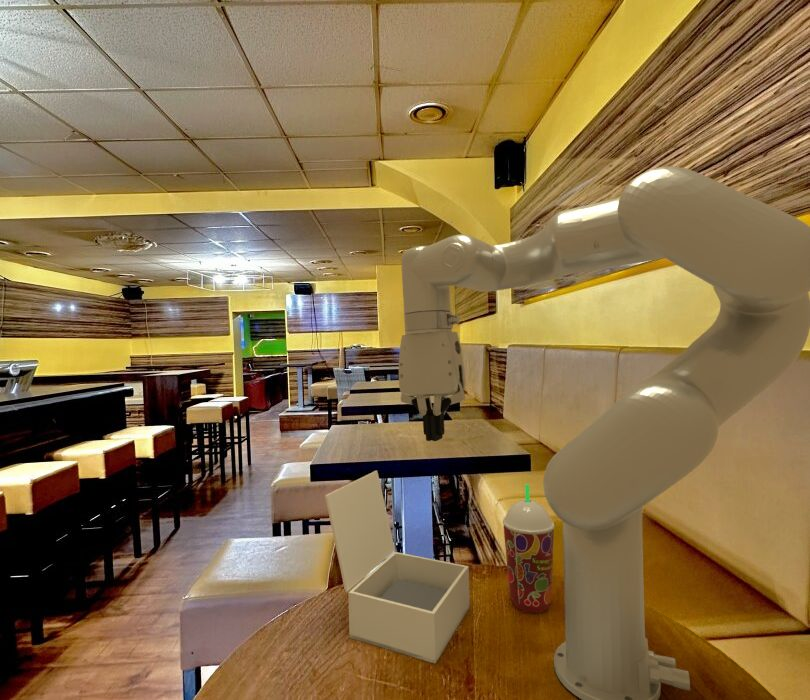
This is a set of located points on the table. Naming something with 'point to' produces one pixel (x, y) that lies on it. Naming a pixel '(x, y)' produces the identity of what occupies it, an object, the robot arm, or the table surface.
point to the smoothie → (529, 554)
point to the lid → (359, 527)
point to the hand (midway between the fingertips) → (434, 439)
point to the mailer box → (410, 605)
